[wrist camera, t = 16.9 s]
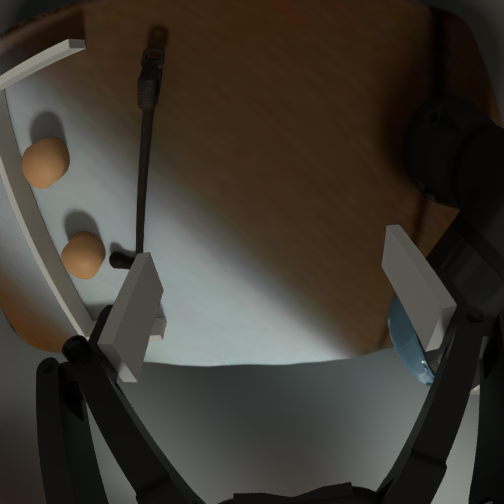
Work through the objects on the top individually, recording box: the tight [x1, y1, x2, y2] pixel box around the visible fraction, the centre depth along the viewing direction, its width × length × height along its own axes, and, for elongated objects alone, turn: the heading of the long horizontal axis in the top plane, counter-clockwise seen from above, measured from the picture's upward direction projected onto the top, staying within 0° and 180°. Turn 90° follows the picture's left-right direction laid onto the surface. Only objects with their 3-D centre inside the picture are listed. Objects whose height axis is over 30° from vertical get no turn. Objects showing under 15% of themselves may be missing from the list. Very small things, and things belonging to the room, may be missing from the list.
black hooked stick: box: [109, 47, 165, 269], centre depth 34 cm, size 5×5×30 cm
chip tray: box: [0, 39, 167, 341], centre depth 36 cm, size 16×44×4 cm, turn 7°
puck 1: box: [22, 137, 70, 189], centre depth 32 cm, size 6×6×4 cm
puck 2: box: [61, 231, 106, 279], centre depth 40 cm, size 6×6×4 cm
